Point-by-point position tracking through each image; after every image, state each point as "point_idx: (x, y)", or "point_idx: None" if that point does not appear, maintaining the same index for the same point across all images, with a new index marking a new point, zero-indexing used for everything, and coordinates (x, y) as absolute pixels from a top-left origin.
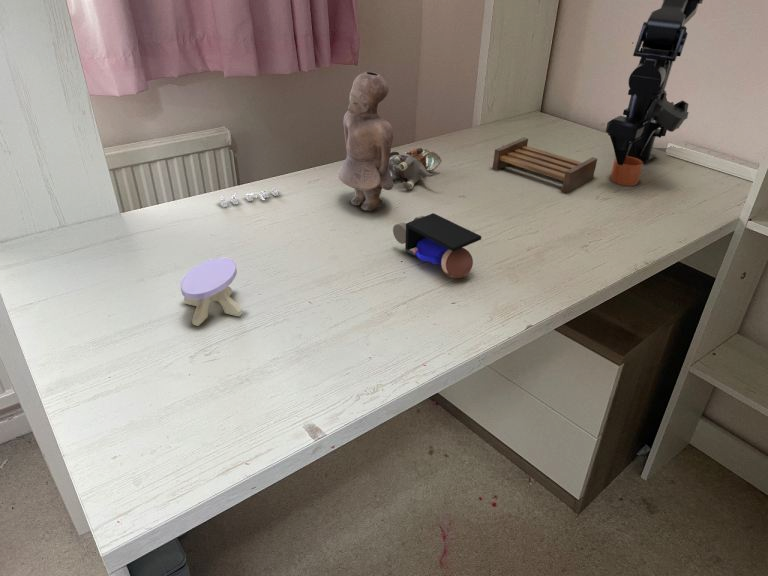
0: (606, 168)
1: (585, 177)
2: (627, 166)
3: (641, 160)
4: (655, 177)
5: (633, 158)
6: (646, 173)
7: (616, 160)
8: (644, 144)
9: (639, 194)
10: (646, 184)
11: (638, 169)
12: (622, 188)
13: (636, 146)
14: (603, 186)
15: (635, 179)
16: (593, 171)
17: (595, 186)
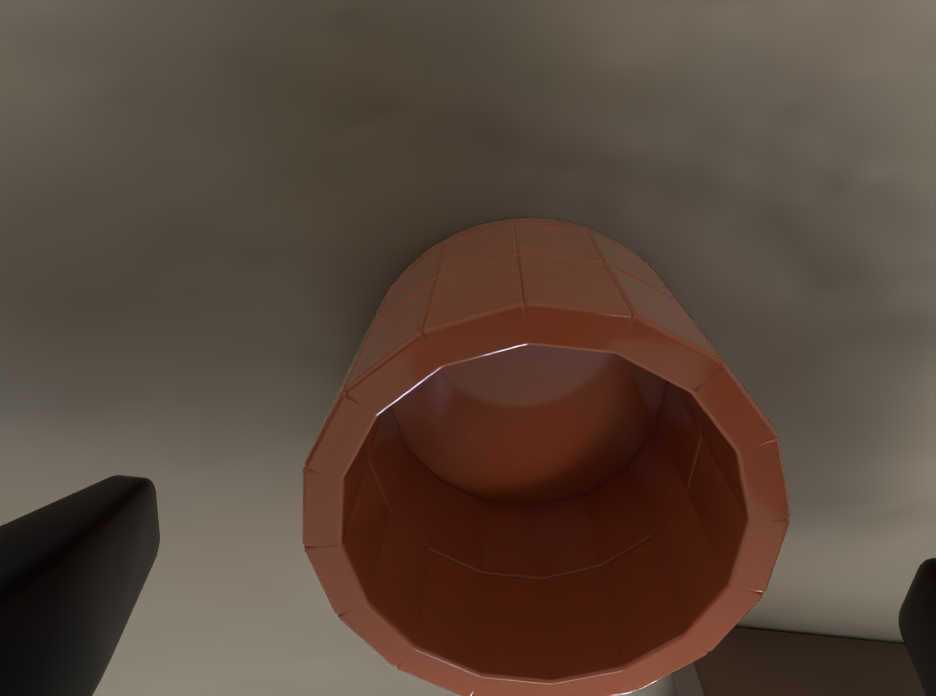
0: (312, 602)
1: (909, 694)
2: (778, 476)
3: (372, 377)
4: (118, 86)
5: (344, 507)
6: (85, 230)
7: (671, 668)
8: (2, 613)
9: (893, 73)
10: (464, 108)
11: (646, 301)
12: (796, 312)
13: (89, 668)
14: (851, 486)
15: (618, 255)
16: (736, 692)
17: (896, 543)
